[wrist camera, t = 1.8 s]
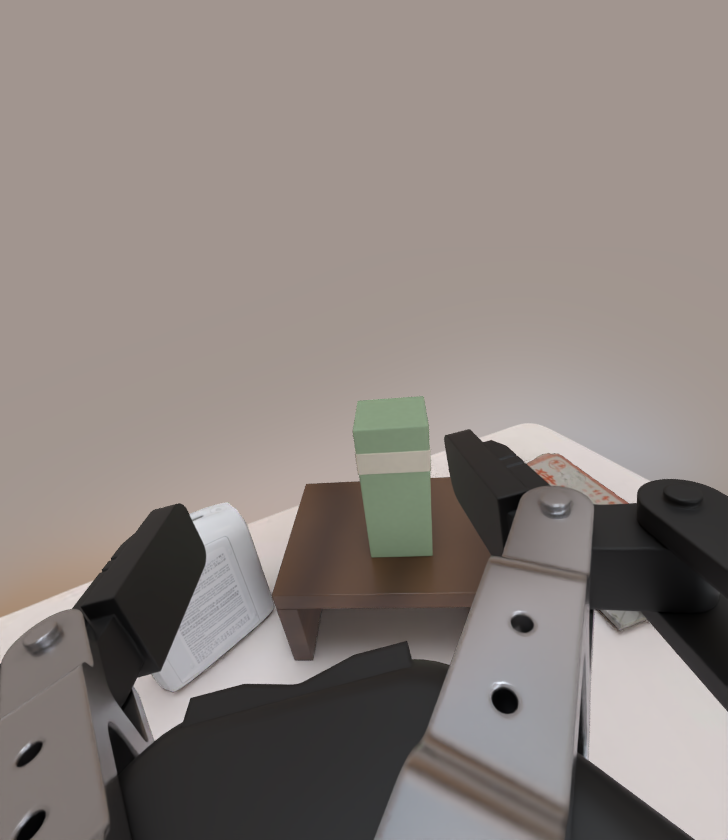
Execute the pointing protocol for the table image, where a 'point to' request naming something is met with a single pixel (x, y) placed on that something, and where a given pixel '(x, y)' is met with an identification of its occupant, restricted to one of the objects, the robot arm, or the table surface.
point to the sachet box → (395, 475)
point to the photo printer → (218, 597)
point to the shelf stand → (370, 562)
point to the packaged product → (569, 475)
